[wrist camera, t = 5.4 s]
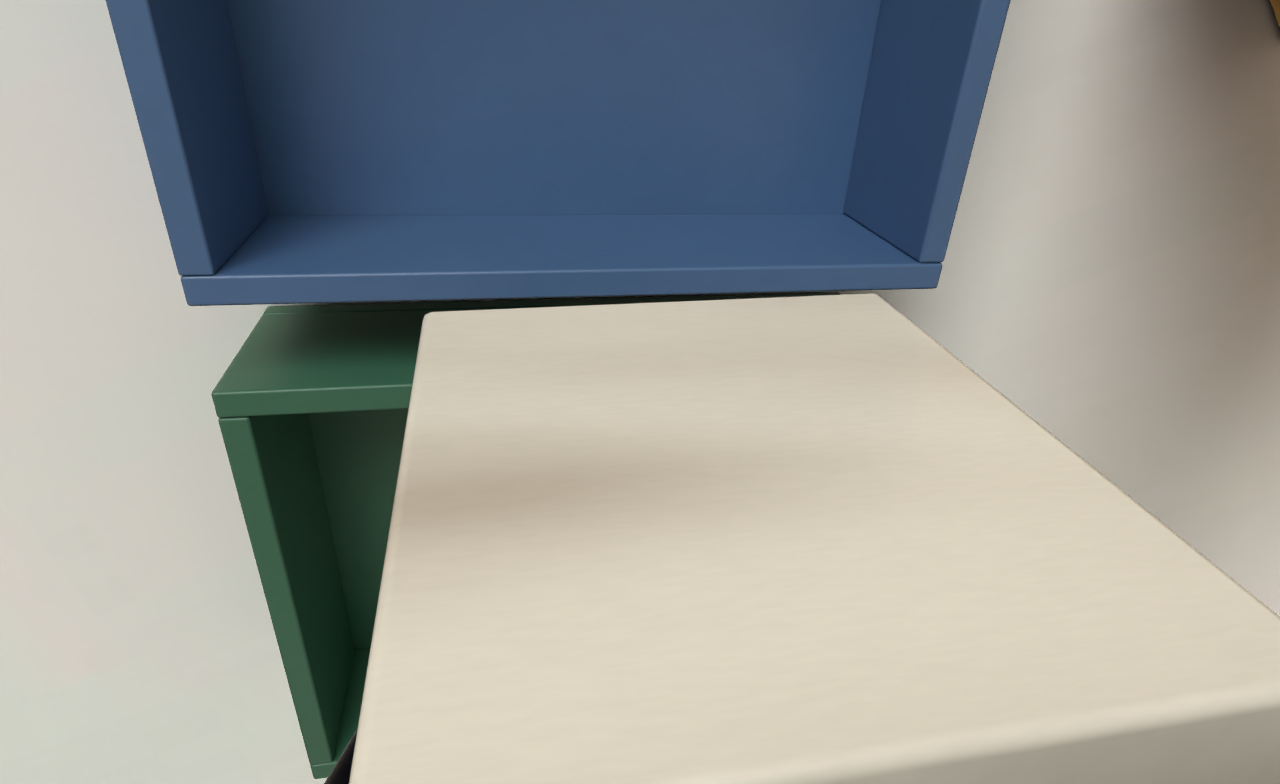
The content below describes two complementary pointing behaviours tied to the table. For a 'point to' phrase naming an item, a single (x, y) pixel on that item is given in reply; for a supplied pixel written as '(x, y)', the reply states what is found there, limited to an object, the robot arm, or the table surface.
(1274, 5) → the candy box
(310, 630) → the green tote
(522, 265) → the blue tote
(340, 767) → the robot arm
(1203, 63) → the table surface
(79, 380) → the table surface
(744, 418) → the parcel
